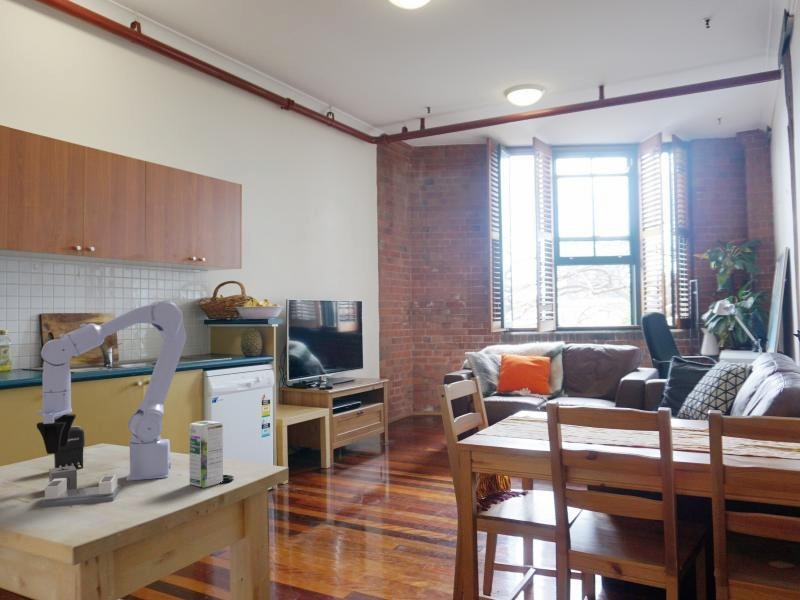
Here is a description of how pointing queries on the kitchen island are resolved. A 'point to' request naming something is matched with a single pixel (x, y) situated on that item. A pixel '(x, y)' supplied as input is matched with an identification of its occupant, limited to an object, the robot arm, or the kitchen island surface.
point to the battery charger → (71, 450)
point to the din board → (81, 497)
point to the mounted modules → (60, 486)
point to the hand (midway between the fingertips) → (57, 449)
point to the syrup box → (205, 453)
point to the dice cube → (65, 475)
